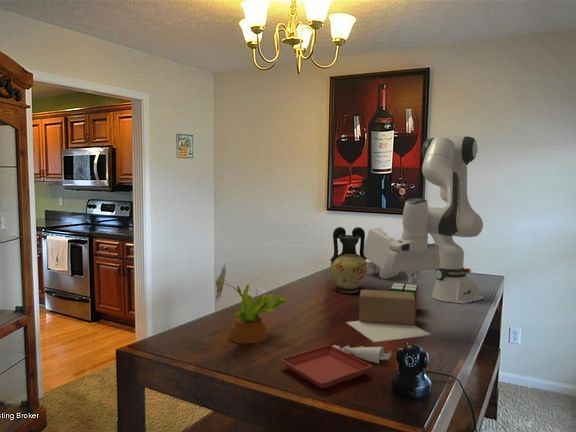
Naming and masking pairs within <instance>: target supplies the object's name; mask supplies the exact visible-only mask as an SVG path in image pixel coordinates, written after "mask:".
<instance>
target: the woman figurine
mask: <svg viewBox="0 0 576 432" xmlns="http://www.w3.org/2000/svg"><path fill="white" fill-rule="evenodd" d="M332 346H333V347H335V348H337V349H339V350H341V351H343V352H346V353H347V354H349V355H353V356H354V357H356V358H358V359H360V360H362V361H365V362H371V363H375V364H380V361H384V360H390V359H391V358H390V357H392V351H391V350H389V352H388V353H386V352H385V349H384V347H383V346H369V347H368V346H367V347H366V346H364V345H362V346H361V345H360V346H358V347H356V346H355V347H351V346H349V345H346V346H344V347H342V348H341V346H340V345H336V344H333V345H332Z"/></svg>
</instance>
